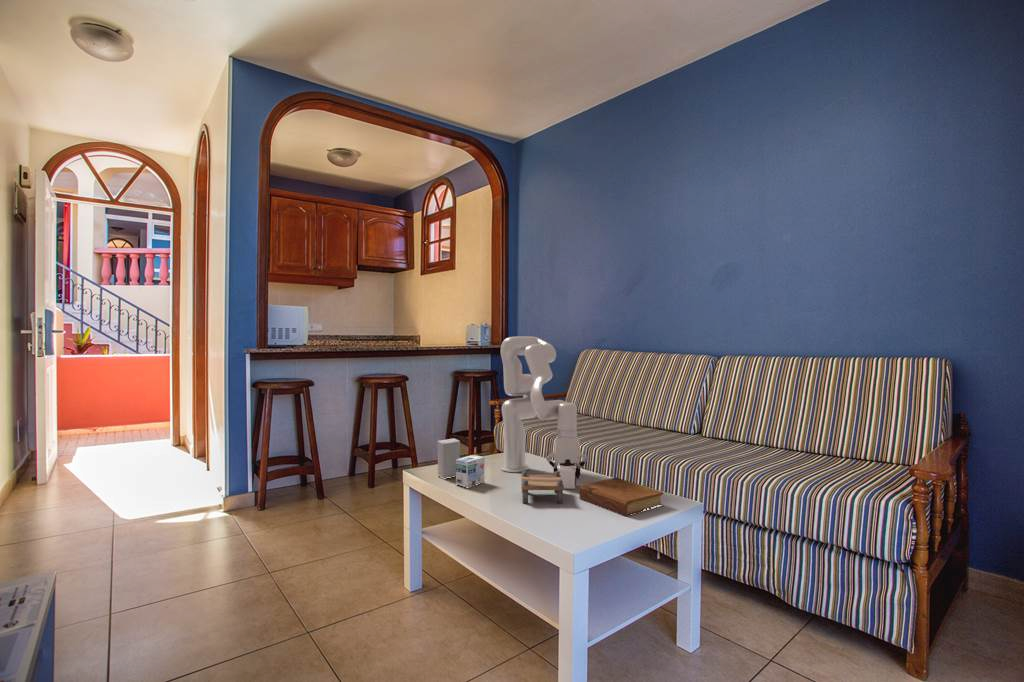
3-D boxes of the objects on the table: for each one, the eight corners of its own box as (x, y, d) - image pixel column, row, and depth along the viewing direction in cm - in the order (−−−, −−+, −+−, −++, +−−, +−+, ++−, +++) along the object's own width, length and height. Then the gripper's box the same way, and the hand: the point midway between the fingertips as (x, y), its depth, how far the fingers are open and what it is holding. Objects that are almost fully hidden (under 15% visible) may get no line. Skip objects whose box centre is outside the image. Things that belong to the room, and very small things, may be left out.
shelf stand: (521, 491, 203) (521, 471, 203) (560, 491, 203) (560, 470, 203) (521, 504, 188) (521, 481, 188) (563, 504, 188) (563, 481, 188)
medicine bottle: (575, 489, 206) (575, 458, 206) (557, 488, 207) (557, 457, 207) (576, 484, 213) (576, 454, 213) (558, 483, 214) (558, 453, 214)
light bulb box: (467, 488, 207) (467, 461, 207) (455, 486, 212) (455, 459, 211) (485, 482, 216) (485, 456, 216) (472, 480, 220) (472, 454, 220)
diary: (579, 501, 194) (579, 485, 194) (616, 492, 204) (615, 477, 204) (625, 518, 175) (625, 501, 175) (663, 507, 185) (663, 491, 185)
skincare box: (454, 473, 230) (454, 437, 230) (461, 477, 224) (461, 440, 224) (436, 476, 226) (436, 439, 225) (443, 480, 220) (443, 442, 219)
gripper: (545, 435, 206) (545, 480, 206) (590, 435, 206) (590, 480, 206) (544, 431, 213) (544, 475, 214) (587, 432, 213) (587, 475, 214)
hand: (566, 477), depth 210 cm, fingers closed on medicine bottle, 7 cm apart
